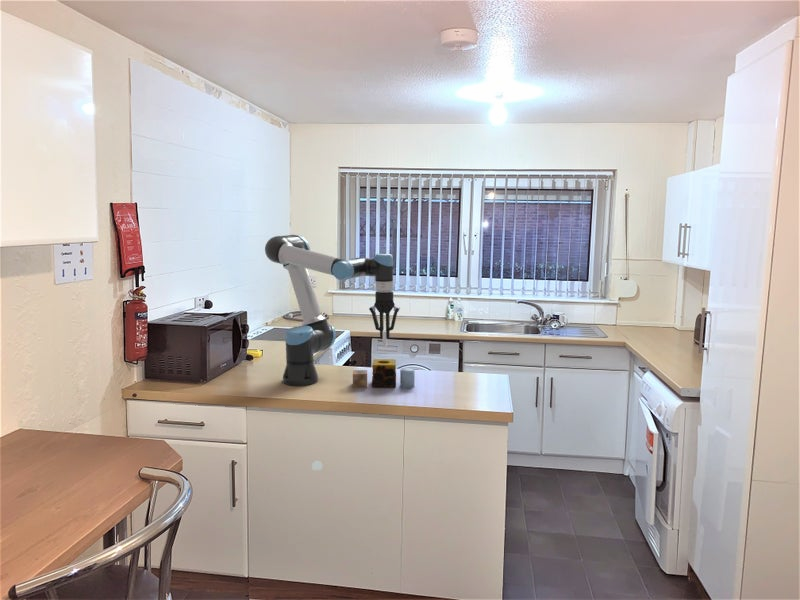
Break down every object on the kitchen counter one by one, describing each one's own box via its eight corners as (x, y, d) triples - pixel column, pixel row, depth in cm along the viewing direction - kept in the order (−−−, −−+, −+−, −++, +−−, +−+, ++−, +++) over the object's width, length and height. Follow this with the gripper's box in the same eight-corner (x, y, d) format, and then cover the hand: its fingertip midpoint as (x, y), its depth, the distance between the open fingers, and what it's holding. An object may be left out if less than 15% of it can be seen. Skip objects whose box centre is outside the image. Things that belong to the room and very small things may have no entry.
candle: (395, 388, 250) (395, 365, 249) (371, 388, 251) (371, 365, 249) (396, 381, 260) (396, 358, 259) (373, 381, 261) (373, 358, 259)
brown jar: (352, 388, 251) (352, 374, 250) (353, 383, 257) (353, 370, 256) (367, 387, 251) (367, 374, 250) (367, 383, 257) (367, 370, 256)
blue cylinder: (399, 387, 251) (399, 371, 250) (401, 383, 257) (401, 367, 255) (413, 388, 250) (413, 372, 249) (415, 384, 256) (415, 368, 255)
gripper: (367, 292, 246) (368, 347, 250) (398, 292, 245) (399, 348, 248) (370, 289, 254) (371, 343, 257) (400, 289, 252) (401, 344, 256)
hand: (384, 346), depth 253 cm, fingers closed
